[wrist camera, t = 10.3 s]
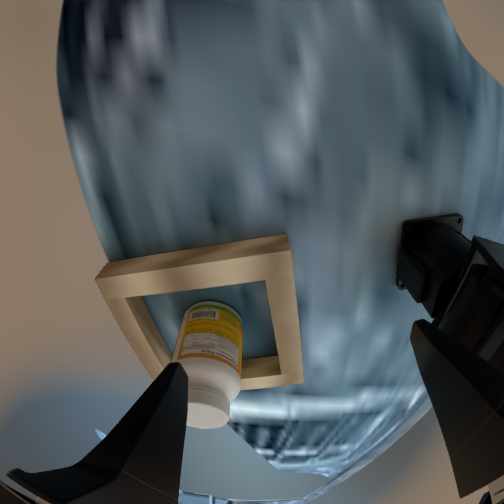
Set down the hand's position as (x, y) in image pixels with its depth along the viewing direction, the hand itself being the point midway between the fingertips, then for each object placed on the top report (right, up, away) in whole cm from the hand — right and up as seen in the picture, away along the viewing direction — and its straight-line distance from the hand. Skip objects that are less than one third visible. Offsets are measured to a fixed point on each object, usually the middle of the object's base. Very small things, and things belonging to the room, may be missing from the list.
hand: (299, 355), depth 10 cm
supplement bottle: (-5, -3, +15) cm, 16 cm away
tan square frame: (-5, -3, +15) cm, 16 cm away
